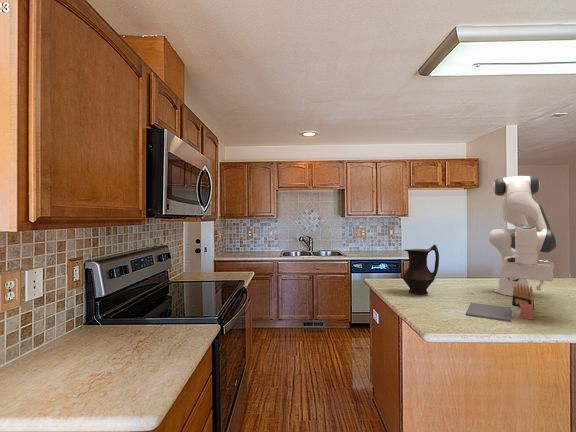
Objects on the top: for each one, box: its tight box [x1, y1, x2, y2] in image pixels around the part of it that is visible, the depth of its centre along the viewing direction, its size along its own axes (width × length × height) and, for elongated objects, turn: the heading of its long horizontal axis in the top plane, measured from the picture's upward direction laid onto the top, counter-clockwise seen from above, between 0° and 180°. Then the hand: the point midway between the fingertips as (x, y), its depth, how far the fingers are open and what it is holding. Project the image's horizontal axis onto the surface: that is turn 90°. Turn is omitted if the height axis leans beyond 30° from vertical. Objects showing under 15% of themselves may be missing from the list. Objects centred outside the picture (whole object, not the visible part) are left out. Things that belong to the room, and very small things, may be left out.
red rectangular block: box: [519, 303, 533, 320], centre depth 161 cm, size 8×4×5 cm, turn 147°
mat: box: [465, 302, 512, 322], centre depth 168 cm, size 24×18×1 cm
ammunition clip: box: [511, 283, 535, 311], centre depth 176 cm, size 11×2×12 cm, turn 17°
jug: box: [401, 244, 440, 296], centre depth 206 cm, size 21×18×30 cm
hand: (526, 288), depth 161 cm, fingers open, 8 cm apart
